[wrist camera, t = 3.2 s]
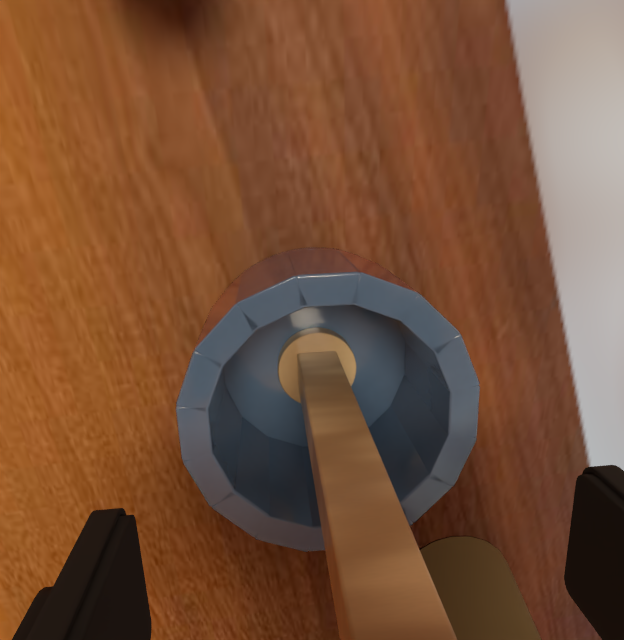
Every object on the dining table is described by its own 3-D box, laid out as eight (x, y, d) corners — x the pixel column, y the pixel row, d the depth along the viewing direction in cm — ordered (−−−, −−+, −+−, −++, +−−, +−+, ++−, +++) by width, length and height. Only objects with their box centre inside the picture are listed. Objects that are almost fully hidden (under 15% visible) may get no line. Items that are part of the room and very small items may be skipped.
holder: (425, 241, 21) (488, 265, 15) (420, 449, 23) (471, 537, 17) (190, 252, 20) (160, 282, 14) (211, 465, 22) (193, 563, 17)
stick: (352, 324, 21) (554, 654, 6) (353, 396, 22) (533, 828, 7) (275, 329, 20) (300, 683, 6) (279, 401, 21) (310, 861, 7)
